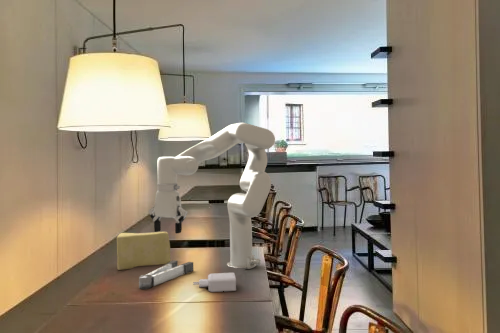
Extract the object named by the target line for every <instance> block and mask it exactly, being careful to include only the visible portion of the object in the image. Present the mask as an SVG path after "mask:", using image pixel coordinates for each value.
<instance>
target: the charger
mask: <svg viewBox="0 0 500 333" xmlns="http://www.w3.org/2000/svg"><path fill="white" fill-rule="evenodd" d="M192 285H194V286H195V285H198V287H199V288H208V292H210V293H219V292H221V293H222V292H223V291H224V292H236V291H237V278H236V275H235V272H219V273H218V272H217V273H215V272H214V273H209V274H208V275H207V278H204V279H203V278H200V279H199V280H198V281H193V284H192Z"/></svg>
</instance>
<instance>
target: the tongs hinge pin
mask: <svg viewBox="0 0 500 333" xmlns="http://www.w3.org/2000/svg"><path fill="white" fill-rule="evenodd" d="M138 289H139V290H149V289H152V276H151V275H146V274H141V275H140V276H138Z"/></svg>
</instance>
